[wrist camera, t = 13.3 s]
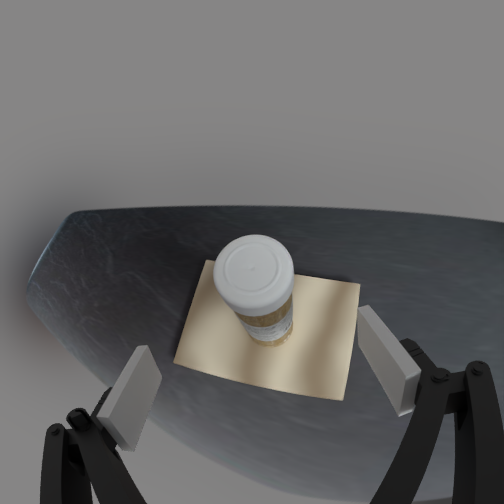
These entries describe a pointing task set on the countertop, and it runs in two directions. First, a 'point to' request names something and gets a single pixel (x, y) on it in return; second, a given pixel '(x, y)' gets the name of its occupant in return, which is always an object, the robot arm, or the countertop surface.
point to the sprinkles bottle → (258, 287)
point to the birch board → (281, 357)
